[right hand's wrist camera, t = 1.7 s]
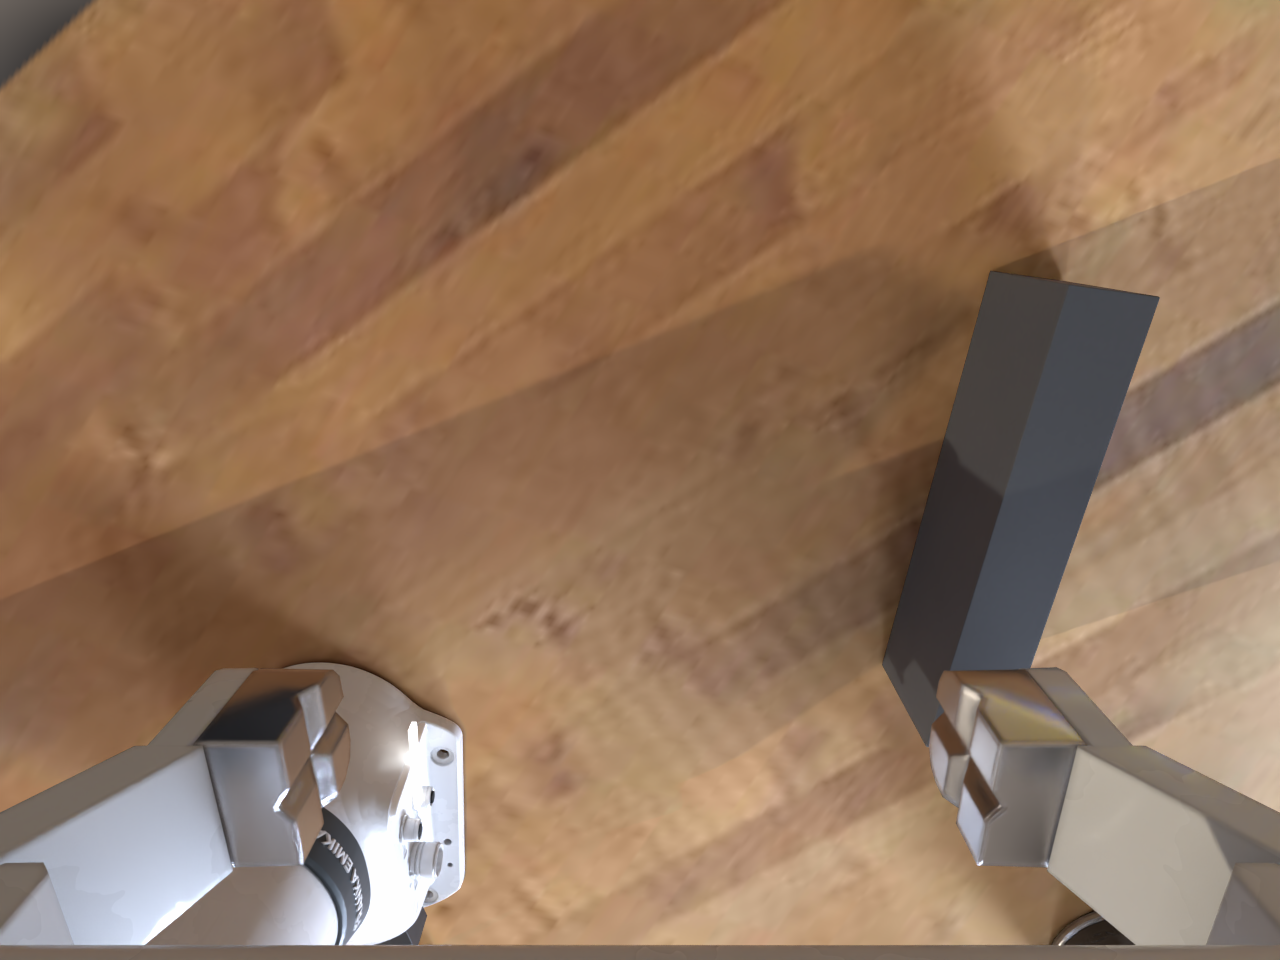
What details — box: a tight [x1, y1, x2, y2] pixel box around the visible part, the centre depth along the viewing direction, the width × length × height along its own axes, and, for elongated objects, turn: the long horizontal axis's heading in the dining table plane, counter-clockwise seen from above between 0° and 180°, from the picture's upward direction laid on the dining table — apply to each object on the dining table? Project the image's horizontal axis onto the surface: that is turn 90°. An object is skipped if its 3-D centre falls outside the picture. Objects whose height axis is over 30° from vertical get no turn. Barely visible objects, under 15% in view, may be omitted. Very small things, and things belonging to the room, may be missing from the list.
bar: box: [882, 271, 1160, 747], centre depth 45 cm, size 27×4×9 cm, turn 172°
